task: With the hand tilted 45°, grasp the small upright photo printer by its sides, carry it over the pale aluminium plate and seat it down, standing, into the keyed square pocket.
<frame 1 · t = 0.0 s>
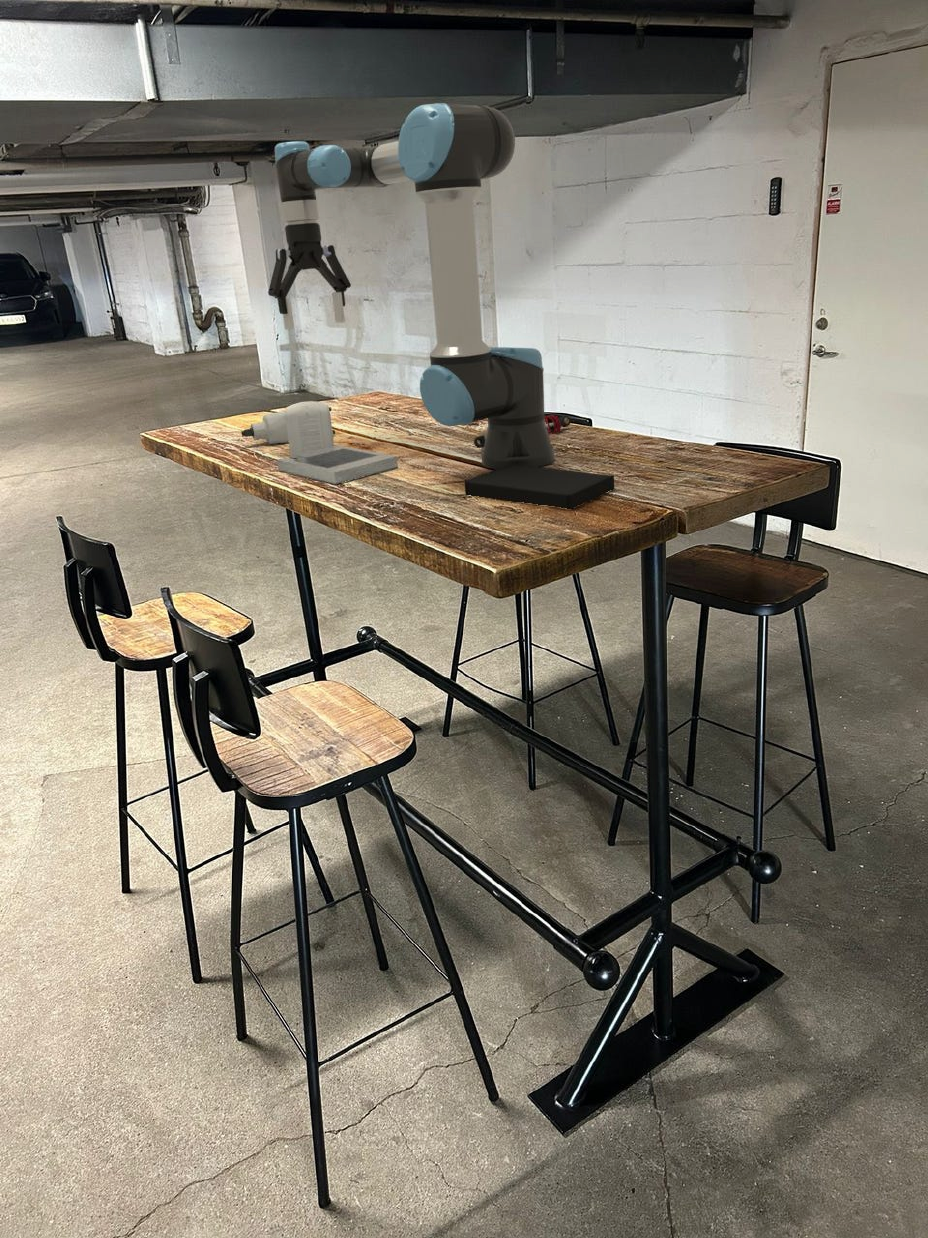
hand: (315, 325, 201), 28 cm above the table, tool pointing down, fingers open, 13 cm apart
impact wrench: (281, 437, 232), on the table
shock absorber: (524, 442, 205), on the table
external hard drive: (538, 495, 162), on the table
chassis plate: (337, 469, 191), on the table
photo printer: (313, 456, 206), on the table
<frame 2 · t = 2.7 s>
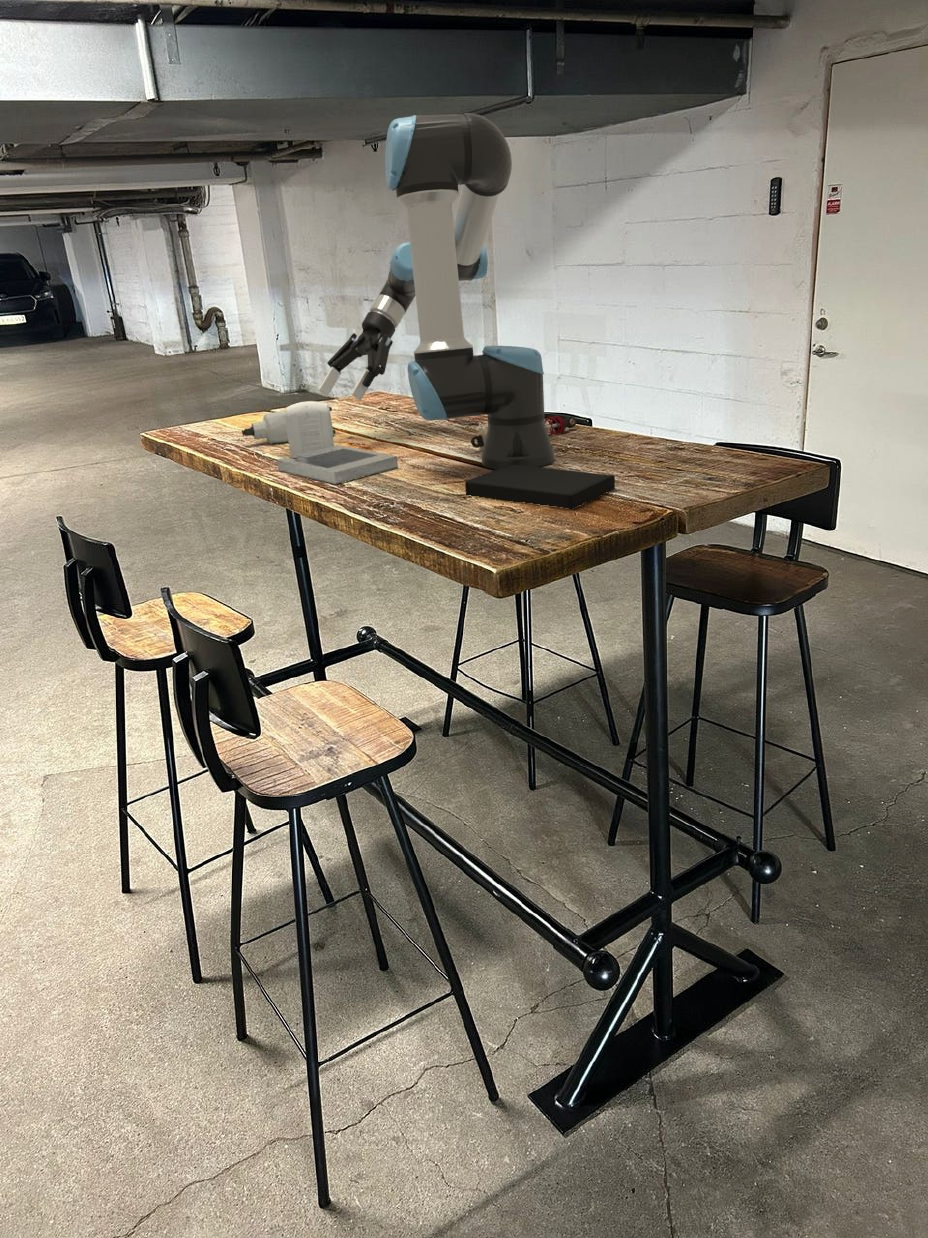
hand: (338, 395, 208), 12 cm above the table, tool tilted 45°, fingers open, 13 cm apart
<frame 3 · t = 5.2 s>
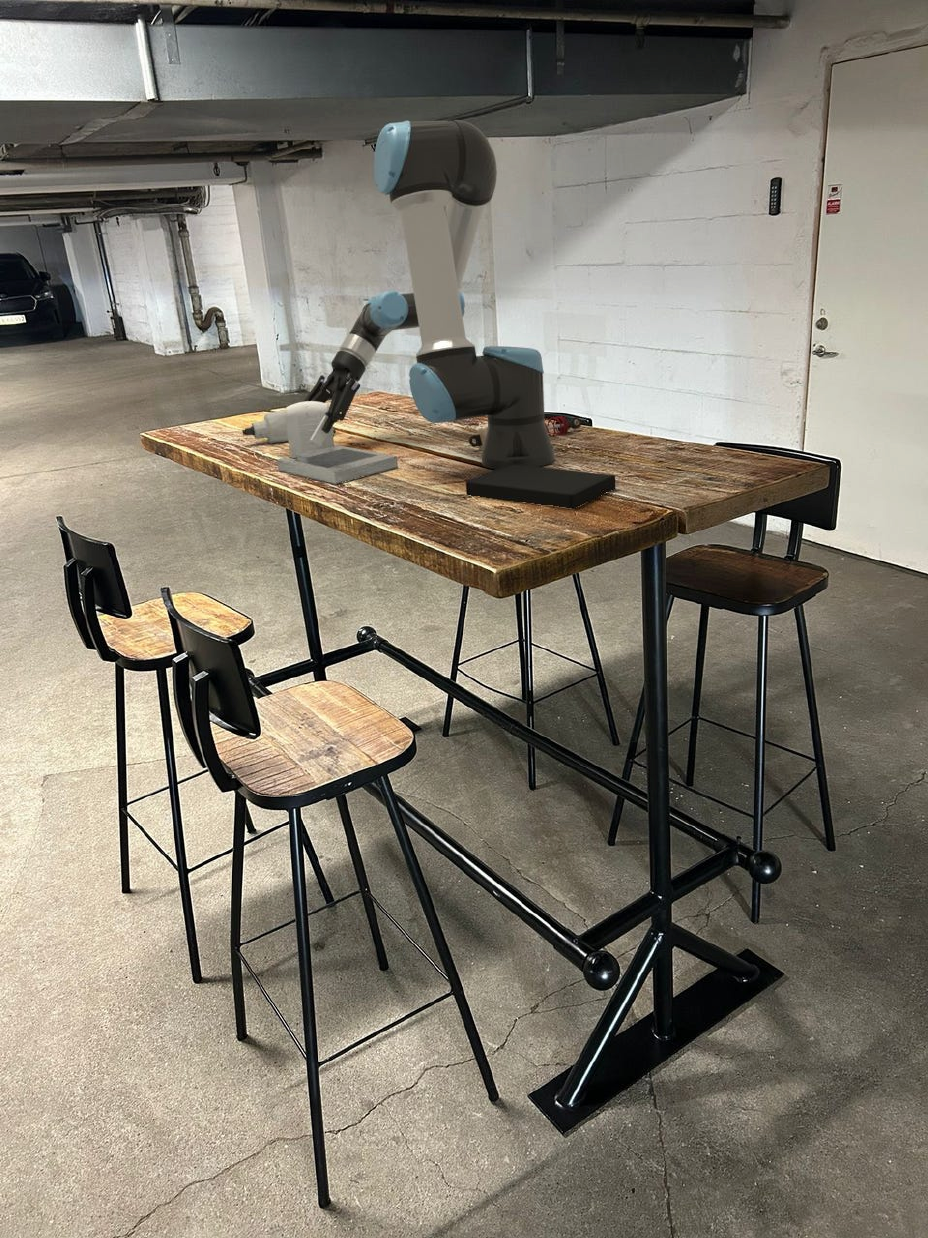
hand: (304, 441, 204), 4 cm above the table, tool tilted 45°, fingers closed on photo printer, 8 cm apart
photo printer: (313, 456, 206), on the table, touching gripper
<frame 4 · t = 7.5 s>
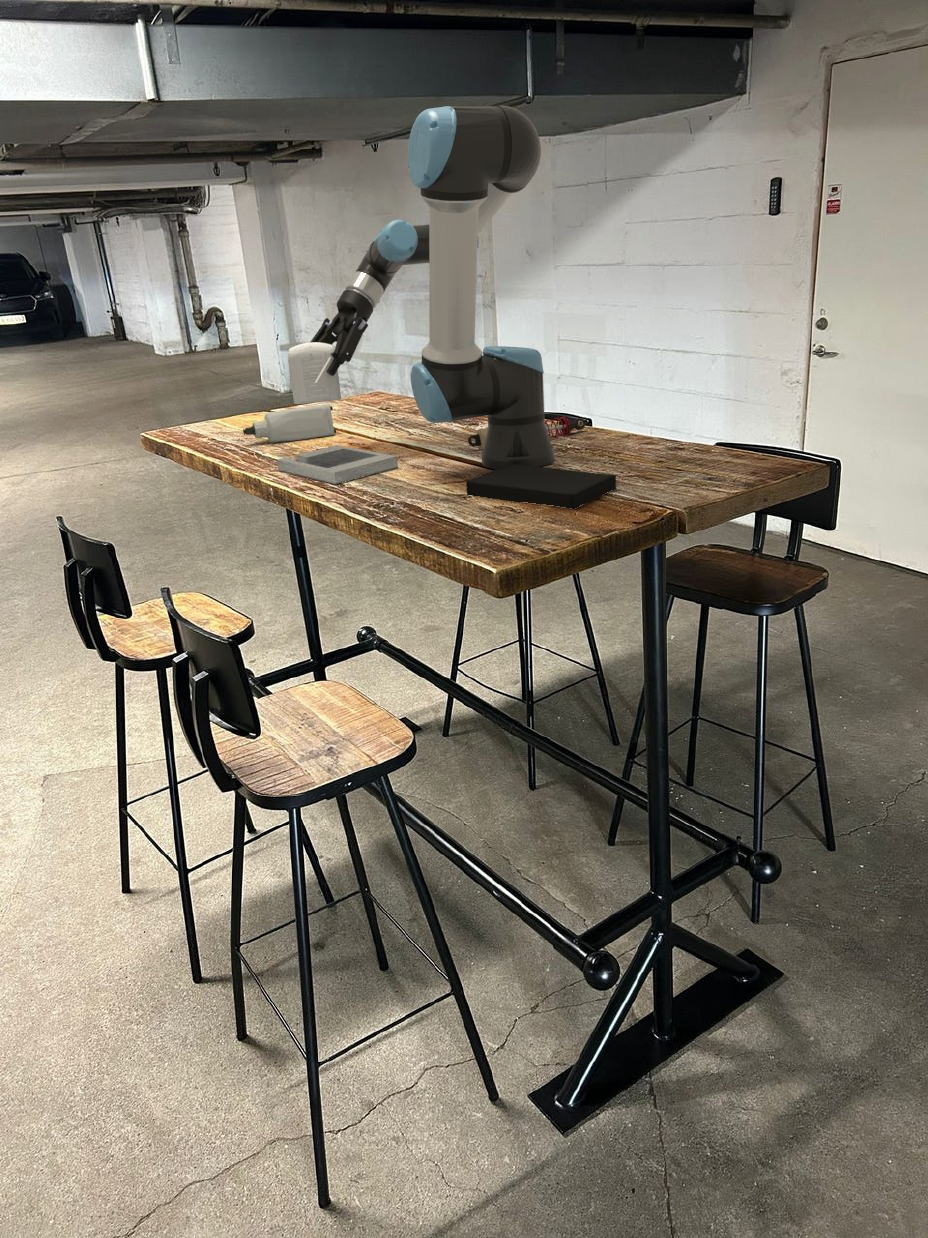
hand: (308, 385, 190), 17 cm above the table, tool tilted 45°, fingers closed on photo printer, 8 cm apart
photo printer: (318, 402, 193), point 13 cm above the table, touching gripper
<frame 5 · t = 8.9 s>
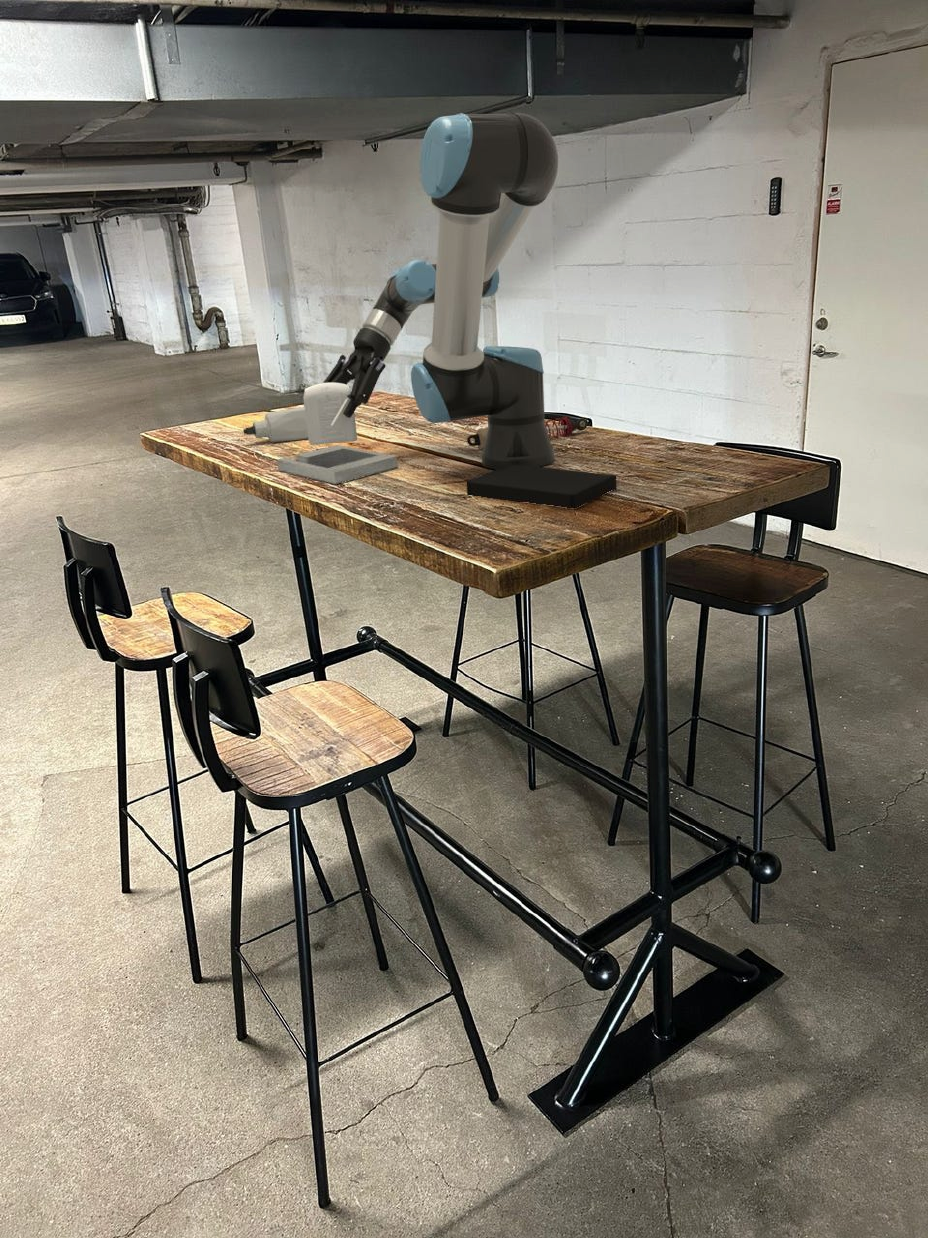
hand: (324, 426, 186), 9 cm above the table, tool tilted 45°, fingers closed on photo printer, 8 cm apart
photo printer: (333, 443, 189), point 6 cm above the table, touching gripper
when the fingers open (6 cm above the table, at t = 10.1 s): photo printer drops 2 cm, resting on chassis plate.
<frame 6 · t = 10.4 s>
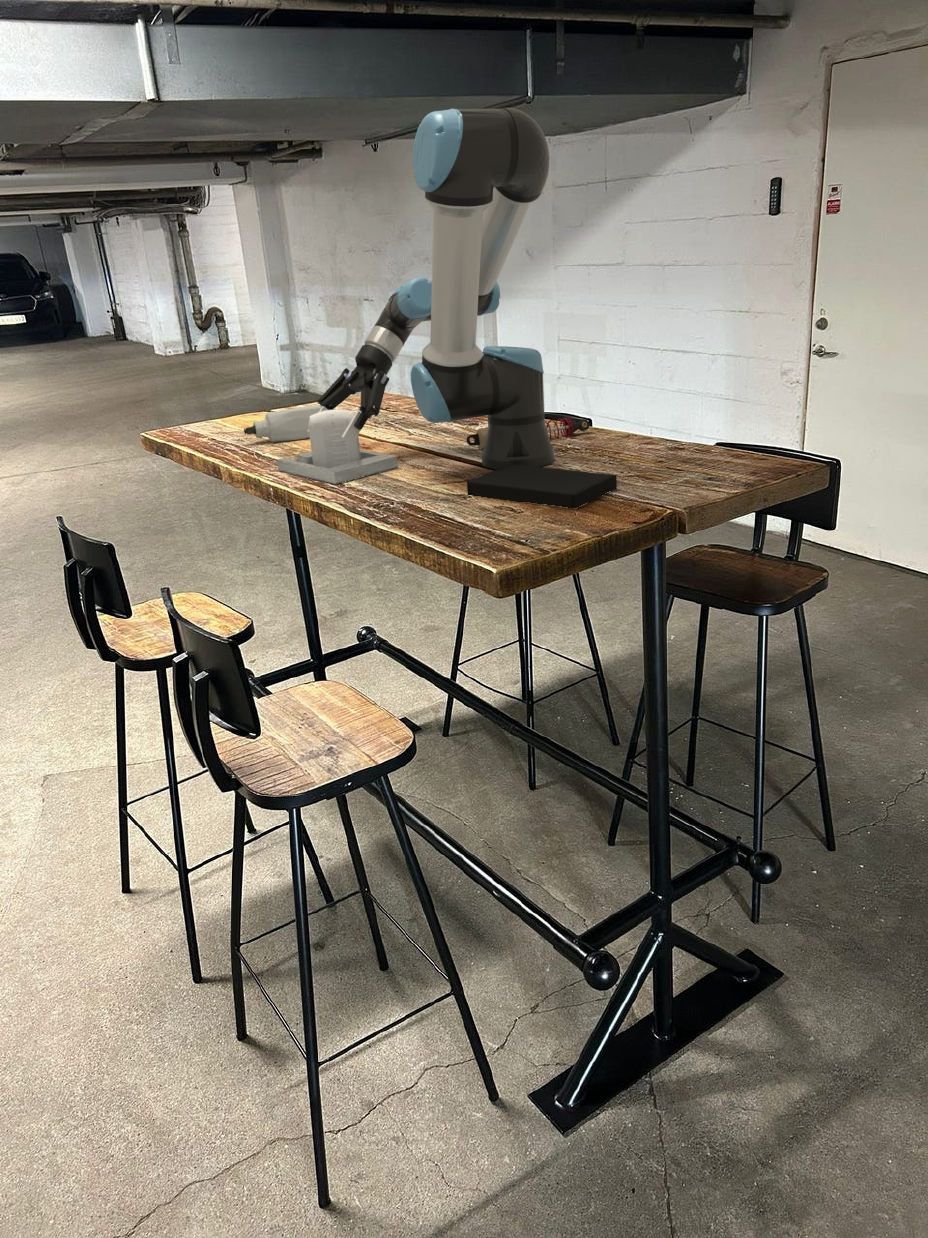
hand: (329, 438, 188), 7 cm above the table, tool tilted 45°, fingers open, 12 cm apart
photo printer: (338, 469, 191), resting on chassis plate
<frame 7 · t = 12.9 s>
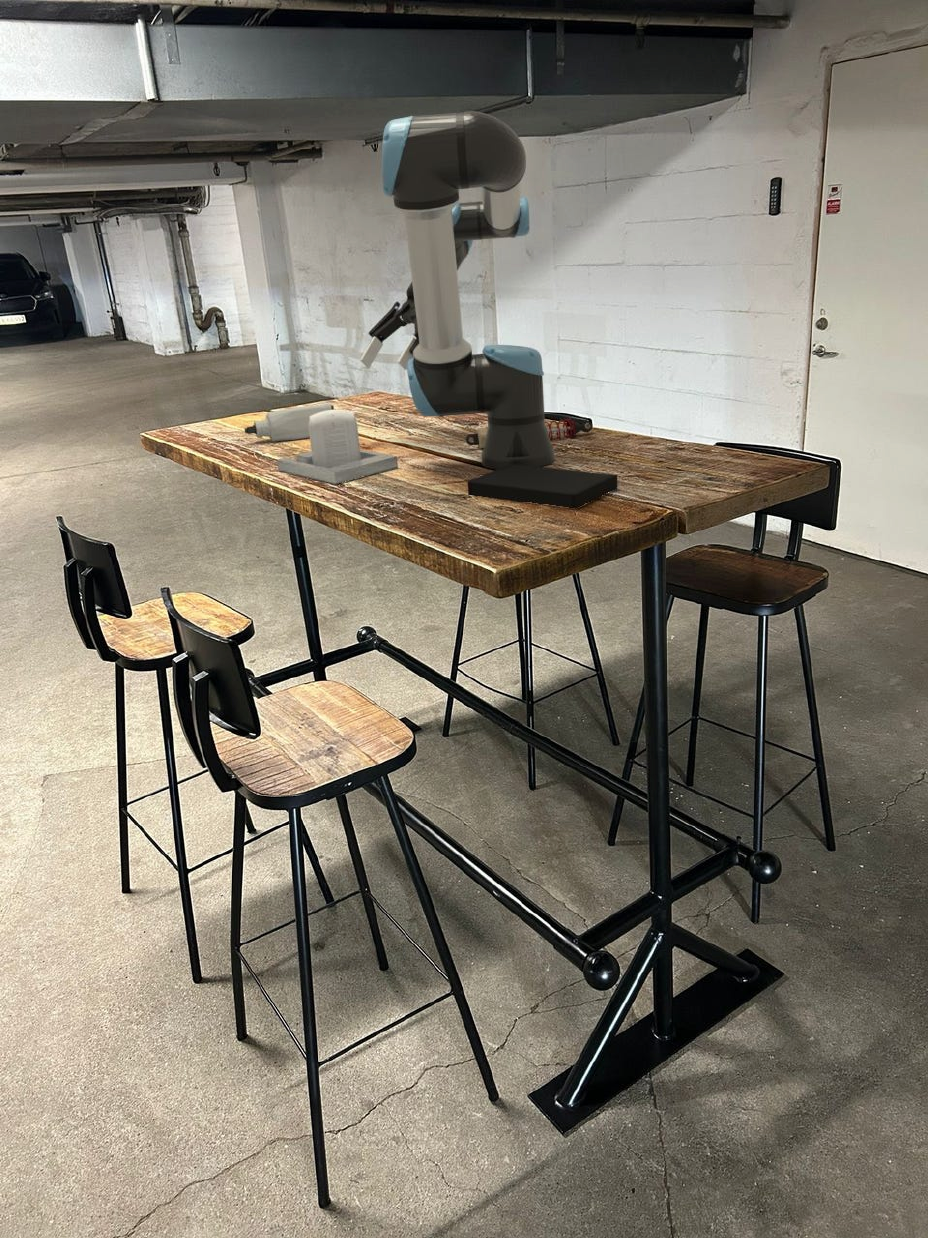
hand: (382, 365, 196), 19 cm above the table, tool tilted 45°, fingers open, 13 cm apart
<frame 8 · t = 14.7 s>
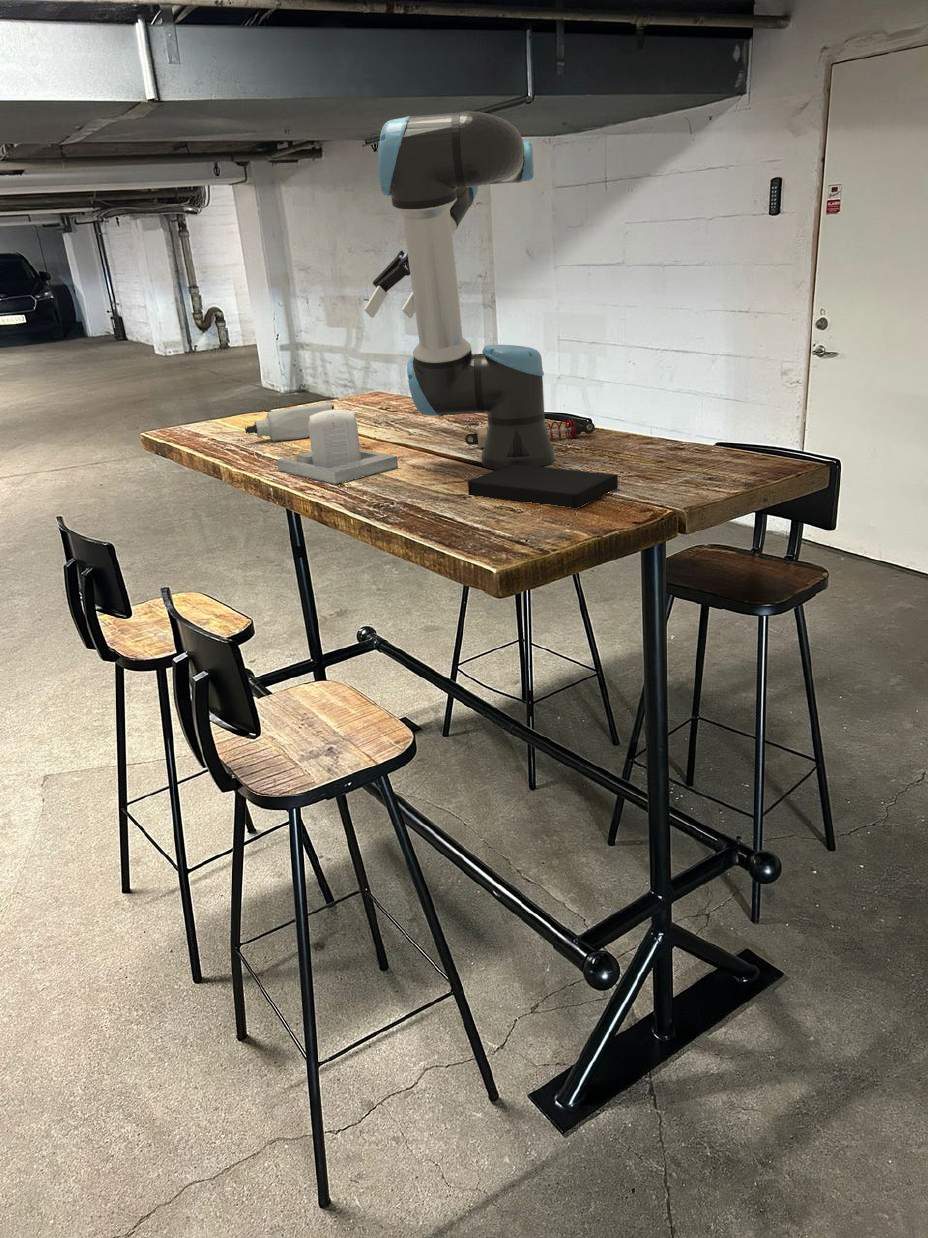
hand: (386, 313, 195), 30 cm above the table, tool tilted 45°, fingers open, 13 cm apart
at the end: photo printer inside the target area on the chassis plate (0.4 cm from its centre), point 0.1 cm above the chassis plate's base; photo printer tilted 0°; the gripper is holding nothing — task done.
